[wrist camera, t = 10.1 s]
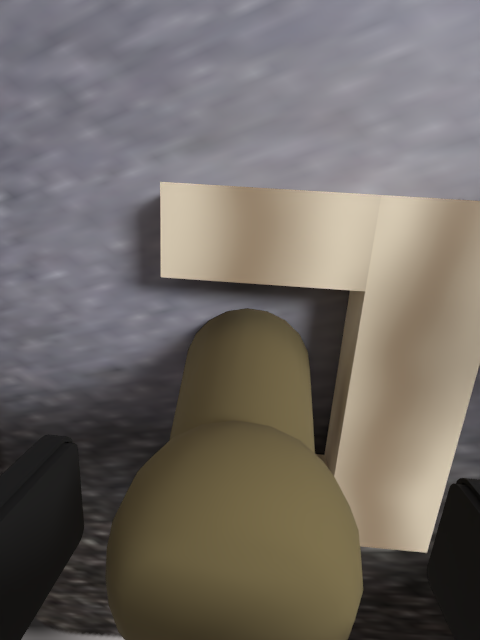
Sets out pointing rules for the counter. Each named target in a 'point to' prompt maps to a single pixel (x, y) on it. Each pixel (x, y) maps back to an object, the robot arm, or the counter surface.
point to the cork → (237, 504)
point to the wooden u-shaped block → (360, 325)
